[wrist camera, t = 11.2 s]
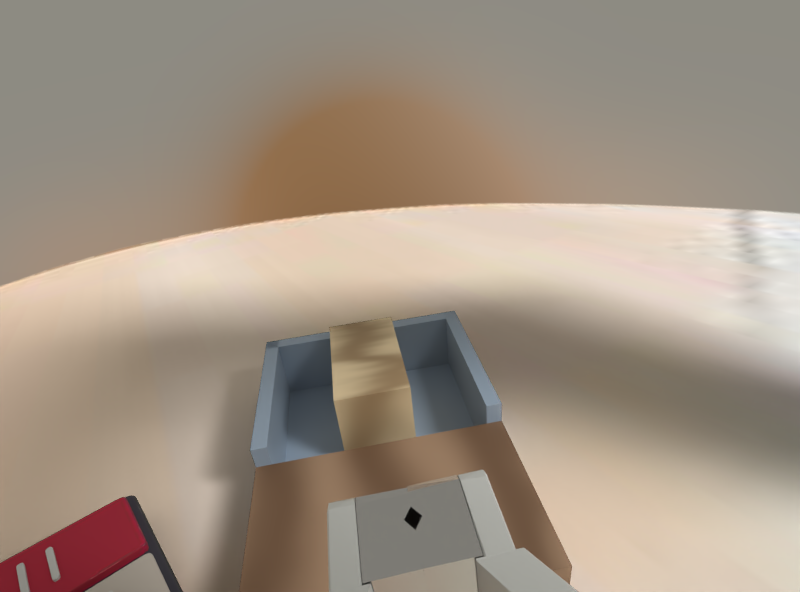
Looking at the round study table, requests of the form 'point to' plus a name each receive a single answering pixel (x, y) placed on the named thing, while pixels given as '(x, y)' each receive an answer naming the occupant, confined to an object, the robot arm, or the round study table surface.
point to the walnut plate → (374, 473)
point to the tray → (313, 389)
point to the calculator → (94, 556)
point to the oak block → (370, 384)
